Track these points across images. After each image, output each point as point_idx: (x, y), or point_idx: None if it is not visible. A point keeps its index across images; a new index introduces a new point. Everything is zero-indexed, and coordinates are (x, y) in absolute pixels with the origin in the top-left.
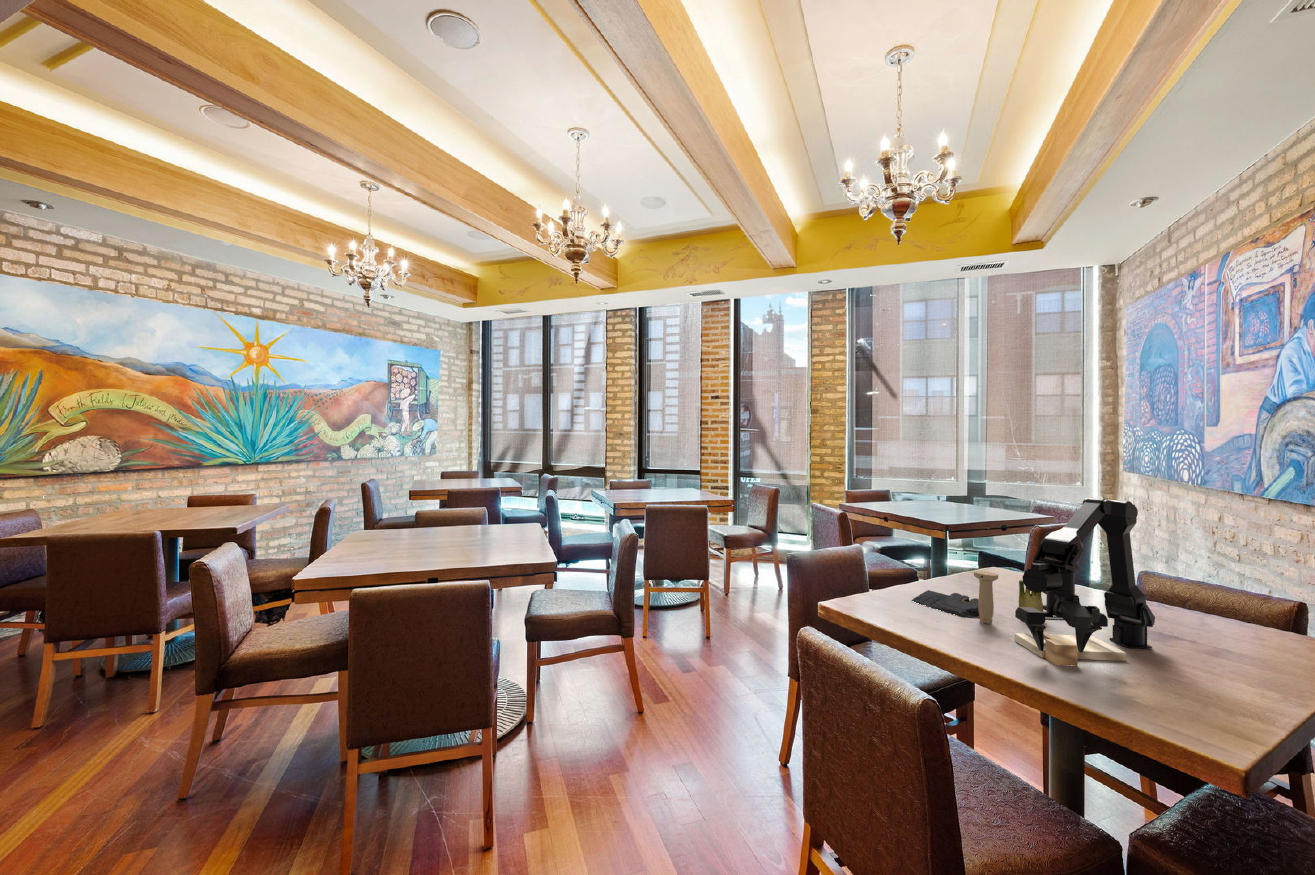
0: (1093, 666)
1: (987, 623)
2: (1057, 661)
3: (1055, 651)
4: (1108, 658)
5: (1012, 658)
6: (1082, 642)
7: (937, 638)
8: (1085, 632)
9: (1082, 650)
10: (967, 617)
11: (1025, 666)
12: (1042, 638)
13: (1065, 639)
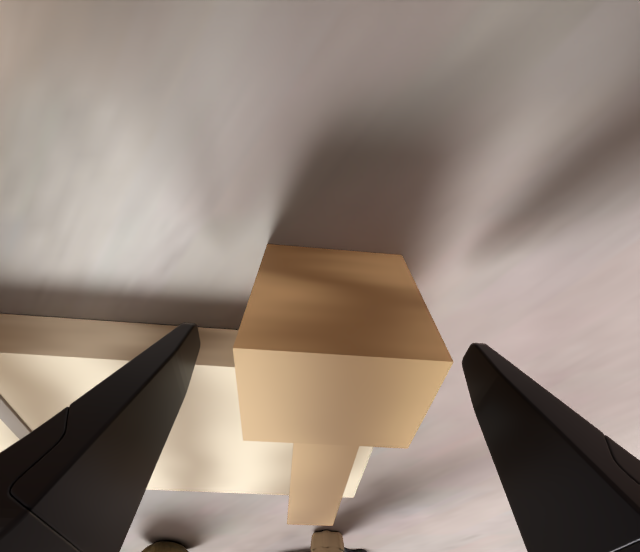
0: (162, 236)
1: (330, 533)
2: (397, 267)
3: (428, 317)
4: (19, 321)
5: (561, 335)
6: (145, 389)
7: None
8: (11, 536)
9: (178, 331)
10: (350, 550)
11: (628, 237)
12: (579, 439)
13: (163, 463)
